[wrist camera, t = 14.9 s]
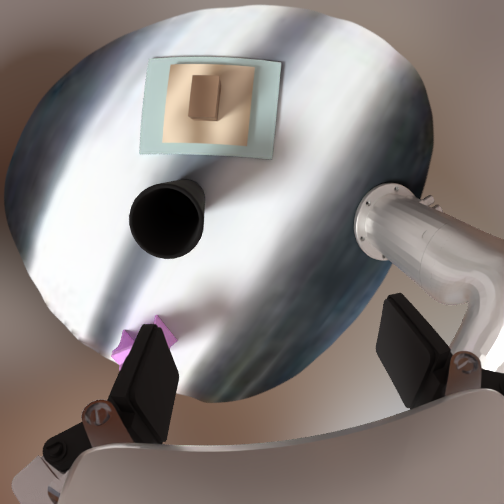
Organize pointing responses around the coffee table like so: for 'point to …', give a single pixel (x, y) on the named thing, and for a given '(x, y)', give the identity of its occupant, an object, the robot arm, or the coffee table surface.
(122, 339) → the toy chair
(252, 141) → the mat
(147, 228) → the cup
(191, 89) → the lid
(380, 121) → the coffee table surface
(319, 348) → the coffee table surface
